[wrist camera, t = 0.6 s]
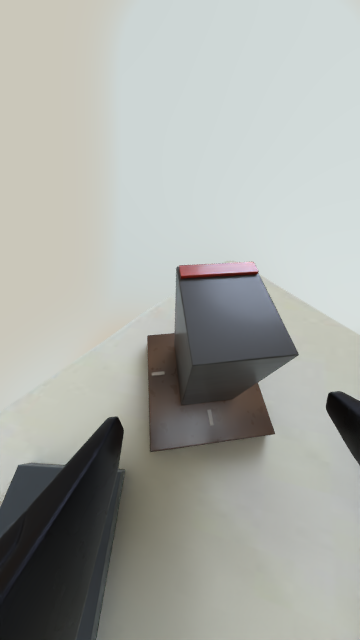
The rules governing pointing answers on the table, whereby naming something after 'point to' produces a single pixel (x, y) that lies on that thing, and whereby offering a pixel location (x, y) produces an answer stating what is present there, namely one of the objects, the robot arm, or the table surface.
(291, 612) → the table surface
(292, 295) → the table surface
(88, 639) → the button housing
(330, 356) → the table surface
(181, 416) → the base
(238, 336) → the box
